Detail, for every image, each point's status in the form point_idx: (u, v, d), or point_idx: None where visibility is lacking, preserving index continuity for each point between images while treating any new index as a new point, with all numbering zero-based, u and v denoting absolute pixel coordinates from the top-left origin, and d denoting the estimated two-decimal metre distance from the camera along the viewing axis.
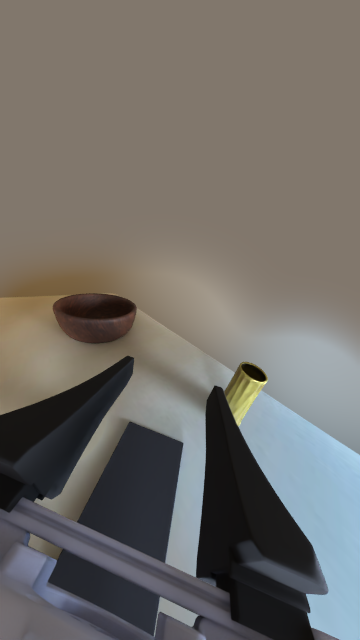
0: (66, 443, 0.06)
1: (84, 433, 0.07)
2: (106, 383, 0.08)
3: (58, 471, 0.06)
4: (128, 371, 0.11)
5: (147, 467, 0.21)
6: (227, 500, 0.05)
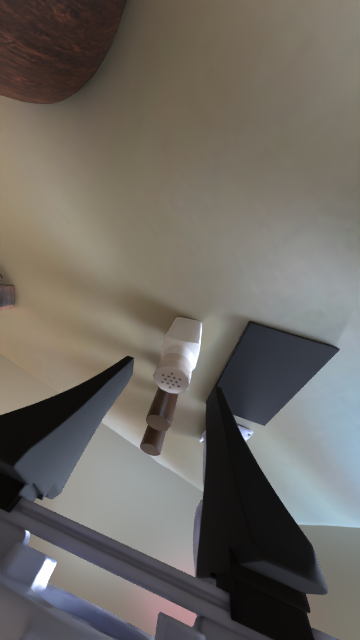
0: (66, 443, 0.06)
1: (84, 433, 0.07)
2: (106, 383, 0.08)
3: (58, 471, 0.06)
4: (128, 371, 0.11)
5: (277, 364, 0.18)
6: (227, 500, 0.05)
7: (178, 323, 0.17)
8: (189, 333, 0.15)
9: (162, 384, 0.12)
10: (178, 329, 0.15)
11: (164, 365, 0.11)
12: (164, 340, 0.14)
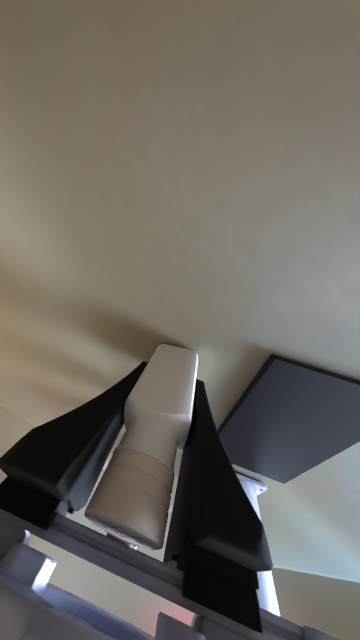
0: (95, 455, 0.06)
1: (108, 443, 0.07)
2: (128, 391, 0.08)
3: (86, 483, 0.06)
4: None
5: (312, 417, 0.12)
6: (190, 485, 0.05)
7: (158, 360, 0.10)
8: (174, 386, 0.08)
9: (107, 529, 0.05)
10: (156, 376, 0.09)
11: (99, 510, 0.04)
12: (127, 404, 0.08)
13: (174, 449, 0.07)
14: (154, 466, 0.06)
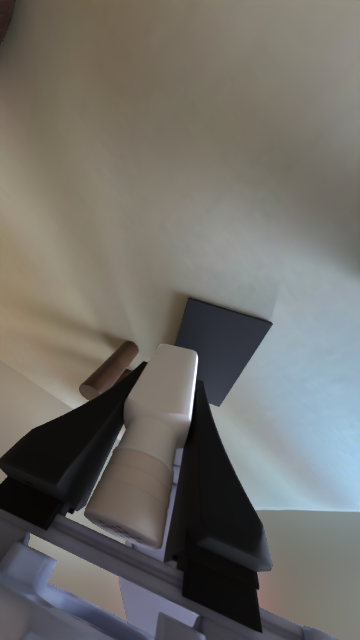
0: (95, 455, 0.06)
1: (108, 443, 0.07)
2: (128, 391, 0.08)
3: (86, 483, 0.06)
4: None
5: (219, 341, 0.19)
6: (191, 485, 0.05)
7: (158, 360, 0.10)
8: (174, 386, 0.08)
9: (106, 529, 0.05)
10: (156, 375, 0.09)
11: (99, 509, 0.04)
12: (126, 404, 0.08)
13: (174, 449, 0.07)
14: (154, 466, 0.06)
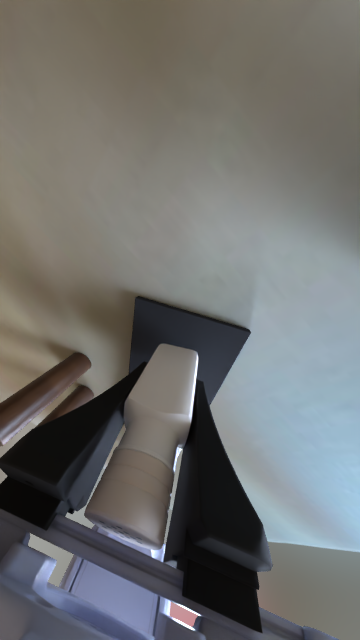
0: (95, 455, 0.06)
1: (108, 443, 0.07)
2: (128, 391, 0.08)
3: (86, 483, 0.06)
4: None
5: None
6: (191, 485, 0.05)
7: (158, 360, 0.10)
8: (174, 386, 0.08)
9: (107, 529, 0.05)
10: (156, 375, 0.09)
11: (99, 510, 0.04)
12: (126, 404, 0.08)
13: (174, 449, 0.07)
14: (154, 466, 0.06)
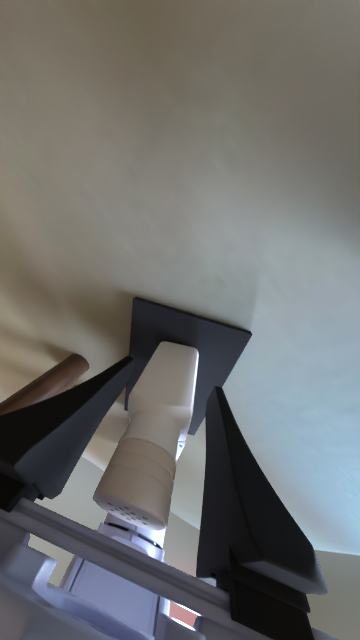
0: (66, 443, 0.06)
1: (84, 433, 0.07)
2: (106, 383, 0.08)
3: (58, 471, 0.06)
4: (128, 371, 0.11)
5: None
6: (227, 500, 0.05)
7: (160, 357, 0.11)
8: (176, 380, 0.09)
9: (114, 512, 0.06)
10: (158, 371, 0.09)
11: (108, 492, 0.05)
12: (130, 398, 0.08)
13: (176, 439, 0.07)
14: (158, 453, 0.06)
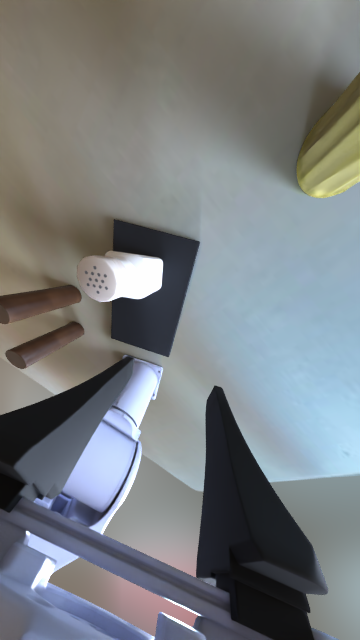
0: (66, 443, 0.06)
1: (84, 433, 0.07)
2: (106, 383, 0.08)
3: (58, 471, 0.06)
4: (128, 371, 0.11)
5: None
6: (227, 500, 0.05)
7: None
8: None
9: (89, 289, 0.10)
10: None
11: (84, 257, 0.09)
12: None
13: (132, 272, 0.11)
14: (116, 260, 0.10)
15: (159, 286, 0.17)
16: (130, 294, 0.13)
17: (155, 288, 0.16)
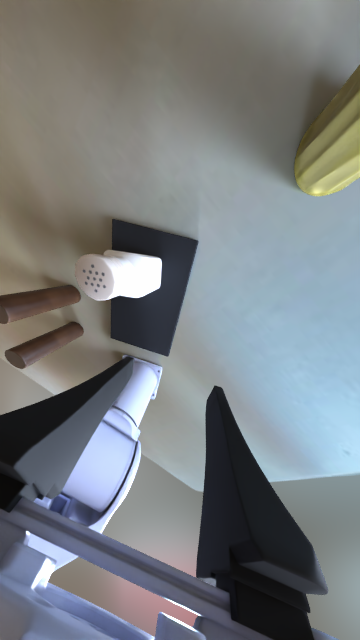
0: (66, 443, 0.06)
1: (84, 433, 0.07)
2: (106, 383, 0.08)
3: (58, 471, 0.06)
4: (128, 371, 0.11)
5: None
6: (227, 500, 0.05)
7: None
8: None
9: (87, 287, 0.10)
10: None
11: None
12: None
13: (131, 271, 0.11)
14: (114, 259, 0.10)
15: (158, 285, 0.17)
16: (129, 293, 0.13)
17: (154, 287, 0.16)
